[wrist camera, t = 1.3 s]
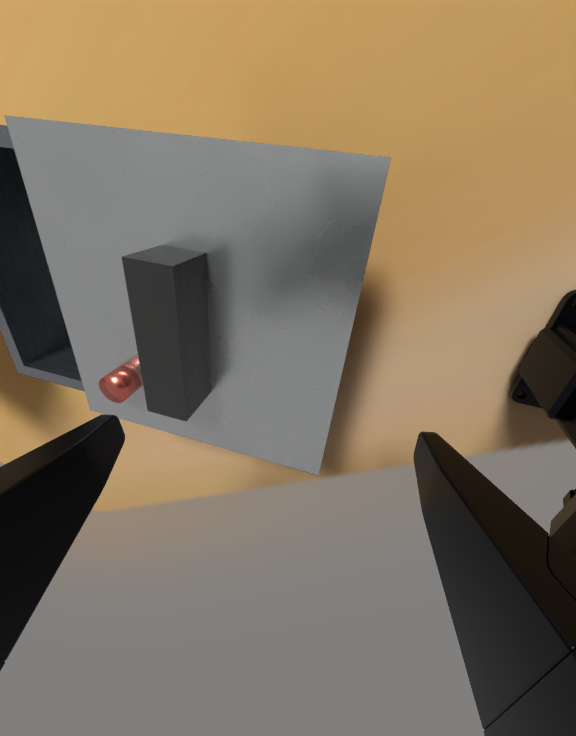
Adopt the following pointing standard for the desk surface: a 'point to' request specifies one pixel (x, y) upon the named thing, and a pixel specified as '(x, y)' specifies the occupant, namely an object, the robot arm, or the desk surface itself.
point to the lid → (205, 277)
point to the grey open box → (29, 285)
